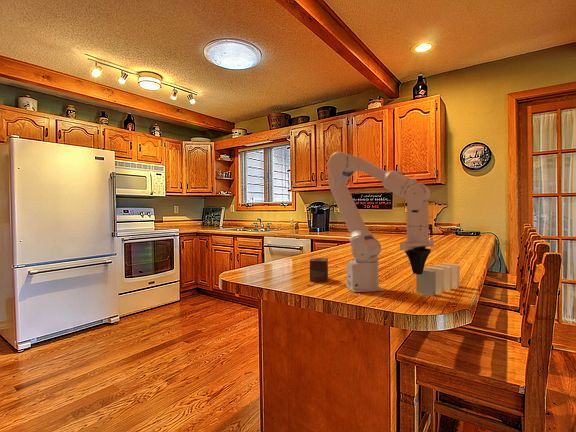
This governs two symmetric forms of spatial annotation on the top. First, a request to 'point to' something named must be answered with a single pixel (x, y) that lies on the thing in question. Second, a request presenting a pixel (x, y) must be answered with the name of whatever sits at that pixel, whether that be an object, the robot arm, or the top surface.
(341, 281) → the top surface
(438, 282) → the domino
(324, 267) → the box
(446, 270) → the domino
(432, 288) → the domino
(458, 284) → the domino
